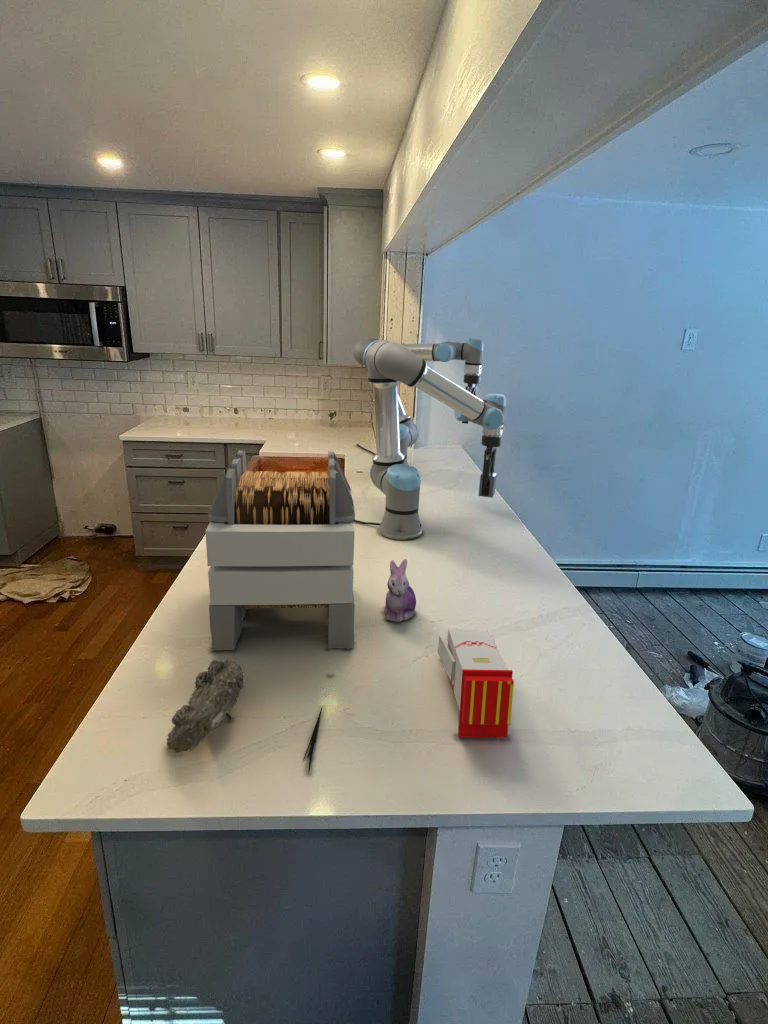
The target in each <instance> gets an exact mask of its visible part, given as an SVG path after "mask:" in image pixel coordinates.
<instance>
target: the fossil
mask: <svg viewBox="0 0 768 1024" xmlns="http://www.w3.org/2000/svg"><path fill="white" fill-rule="evenodd" d="M243 670H244V669H243V667H242V665H240V664H237V662H236V661H235V660H234V659H232V658H231V659H227V658H226V659H224V660H223V661H222V660H217V659H212V660H211V661H210V663H209V665H208V666H207V671H201V672H199V673H198V674H197V675H196V676H195V680H194V684H195V685H194V687H195V689H194V690H193V693H192V694H191V697H190V698H189V700H188V704H184V705H182V706H181V707H180V709H177V710H176V711H175V713H174V715H173V716H172V718H171V723H172V724H173V727H172V730H171V731H170V732H168V734H167V738H166V741H167V742H166V745H167V749H168V750H169V751H173V752H174V753H176V754H178V753H182V752H188V751H189V752H192V751H193V750H195V748H196V747H197V746H199V744H200V743H201V742H203V741H204V740H205V739H206V738H207V737H208V736H209V735H210V734H211V733H212V732H214V730H215V729H217V727H218V726H219V724H220V722H221V721H222V720H223V719H224V718H225V716H226V717H227V719H229V720H233V717H232V715H230V714H229V710H230V709H231V708H234V706H235V704H236V703H237V702H238V699H239V697H240V695H241V693H242V691H243V690H245V689H244V688H245V675H244V671H243Z"/></svg>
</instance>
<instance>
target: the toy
mask: <svg viewBox="0 0 768 1024" xmlns="http://www.w3.org/2000/svg"><path fill="white" fill-rule="evenodd" d="M446 640H447V643H446V641H445V639H444V636H443V635H442V634H439V637H438V646H437V656H438V657H439V659H440V661H441V663H442V666H443V668H444V670H445V672H446V674H447V677H448V679H449V681H450V684H451V687H452V690H453V693H454V697H455V701H456V705H457V708H458V711H459V714H458V715H459V716H458V730H457V731H458V732H457V737H458V738H508V731H509V726H510V725H511V717H512V707H513V697H514V696H513V695H514V684H515V680H514V679H513V673H514V671H513V670H512V669H508V667H507V665H506V662H505V661H504V659H503V658H502V655H501V653H500V651H499V649H498V647H497V643H496V639H495V637H494V635H493V634H491V632H490V631H489V629H467V628H466V629H465V628H463V629H461V628H460V629H459V628H448V630H447V639H446Z"/></svg>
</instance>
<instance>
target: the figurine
mask: <svg viewBox="0 0 768 1024" xmlns="http://www.w3.org/2000/svg"><path fill="white" fill-rule="evenodd" d="M407 567H408V559H406V558H404V559H403V560H402V561H401V563H400V565H399V566H398V565H397V563H396V562H395V561H394V560H393V559H391V560H390V561H389V570H390V576H389V578H388V579H387V589H388V591H387V592H386V594H385V595H386V596H385V607H384V615H385V616H386V620H387V621H391V622H395V623H400V622H402V621H406V620H409V619H410V618H411V617H413V616H414V615H415V610H416V606H417V597H416V593H415V591H414V590H413V587H411V586H410V582H409V579H408V577H407V574H406V571H407Z"/></svg>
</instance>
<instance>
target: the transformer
mask: <svg viewBox="0 0 768 1024" xmlns="http://www.w3.org/2000/svg"><path fill="white" fill-rule="evenodd" d="M327 456H328V457H327V462H328V463H327V471H322V472H321V473H320V472H319V471H311V472H307V471H284V472H283V471H281V472H278V471H271V470H269V471H267V470H265V471H262V470H261V471H259V470H258V471H257V470H256V471H253V470H247V458H246V450H240V449H238V450H237V452H236V454H235V456H234V457H233V459H232V462H231V464H230V466H229V468H227V470H226V472H225V474H224V477H223V479H222V480H221V483H220V486H219V487H218V490H217V491H216V495H215V496H214V499H213V501H212V503H211V504H210V505H211V506H210V508H209V510H208V513H207V517H208V522H209V523H208V525H207V527H206V529H205V533H204V534H205V548H206V558H207V559H206V563H207V567H209V569H208V571H207V574H208V575H207V577H208V589H209V604H208V615H209V630H210V634H211V647H210V649H211V651H212V652H214V651H215V652H218V651H234V649H235V647H236V645H237V643H238V641H239V638H240V635H241V633H242V630H243V619H245V618H246V614H247V609H249V610H250V609H273V608H274V609H276V608H277V609H280V608H281V609H293V608H294V609H296V608H298V609H302V608H309V609H310V608H315V609H316V608H327V637H328V638H327V639H328V640H327V641H328V649H349V650H350V649H352V648H353V647H354V646H355V645H354V643H355V607H356V606H355V597H354V559H355V558H354V555H355V526H354V525H355V524H354V522H353V521H354V520H356V511H355V505H354V499H353V493H352V487H351V486H350V484H349V481H348V479H347V477H346V475H345V473H344V471H343V469H342V467H341V464H340V462H339V459H338V458H337V455H336V453H335V452H334V451H330V450H329V451H327Z"/></svg>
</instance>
